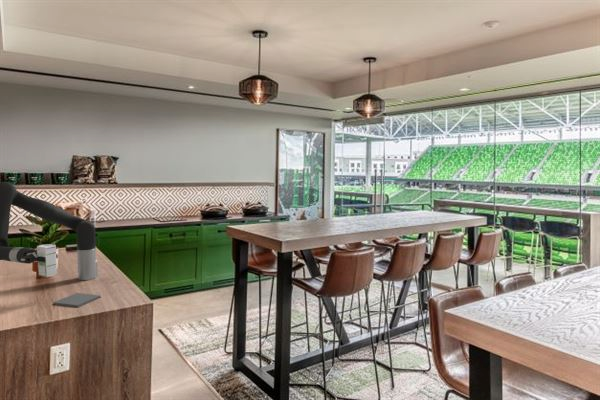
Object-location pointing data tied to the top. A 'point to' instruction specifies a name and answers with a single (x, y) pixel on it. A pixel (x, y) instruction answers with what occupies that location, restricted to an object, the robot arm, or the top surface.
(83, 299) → the charcoal mat
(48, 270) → the syrup box
